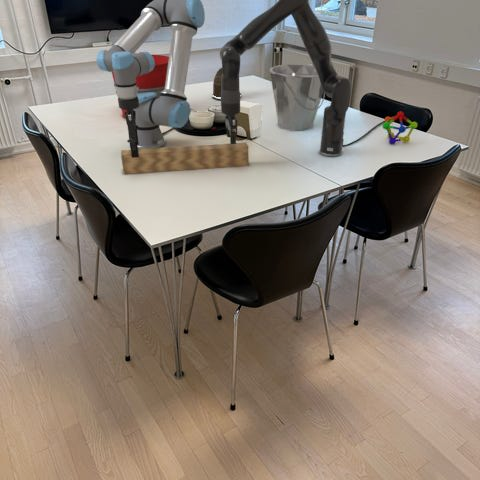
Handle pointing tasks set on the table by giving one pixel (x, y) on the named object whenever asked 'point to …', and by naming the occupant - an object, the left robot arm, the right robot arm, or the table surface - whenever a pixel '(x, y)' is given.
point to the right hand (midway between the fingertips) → (231, 140)
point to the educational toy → (398, 128)
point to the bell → (217, 84)
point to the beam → (185, 158)
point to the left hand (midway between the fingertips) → (135, 150)
